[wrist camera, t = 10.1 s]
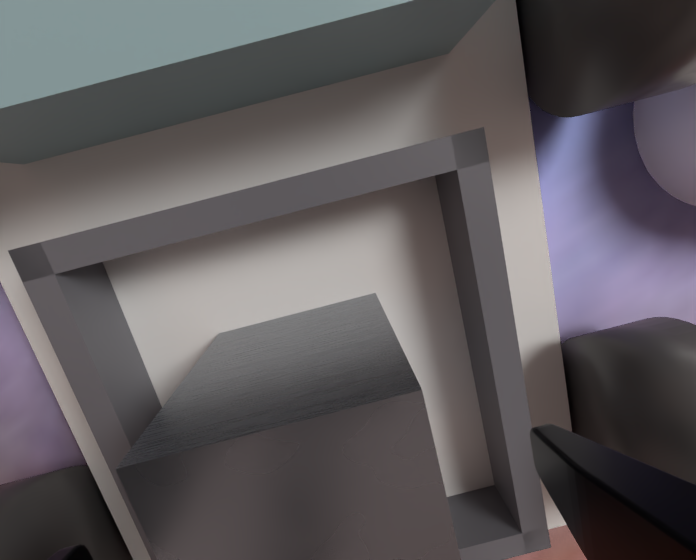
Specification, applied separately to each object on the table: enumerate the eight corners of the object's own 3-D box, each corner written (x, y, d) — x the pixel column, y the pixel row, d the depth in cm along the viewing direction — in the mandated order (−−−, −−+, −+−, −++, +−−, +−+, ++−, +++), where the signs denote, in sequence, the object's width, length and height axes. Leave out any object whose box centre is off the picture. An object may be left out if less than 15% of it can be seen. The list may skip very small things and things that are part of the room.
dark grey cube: (266, 467, 13) (217, 690, 7) (218, 333, 12) (115, 468, 6) (409, 430, 13) (475, 624, 7) (375, 292, 12) (422, 389, 6)
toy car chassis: (115, 614, 15) (-16, 875, 10) (-201, 1, 10) (-891, -248, 4) (629, 483, 15) (816, 665, 9) (563, -201, 10) (878, -722, 4)
